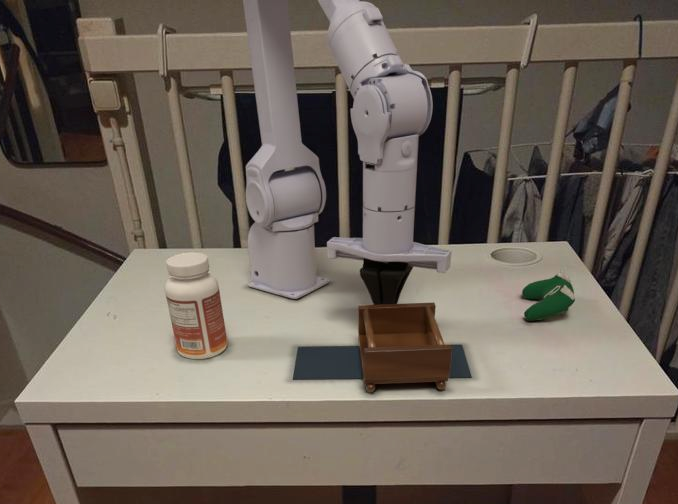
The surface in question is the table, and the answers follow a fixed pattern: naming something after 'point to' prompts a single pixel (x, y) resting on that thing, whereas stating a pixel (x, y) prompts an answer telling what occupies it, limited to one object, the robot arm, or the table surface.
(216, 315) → the pill bottle
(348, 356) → the mat
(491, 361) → the table surface
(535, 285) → the green slippers
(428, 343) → the brown wooden box
